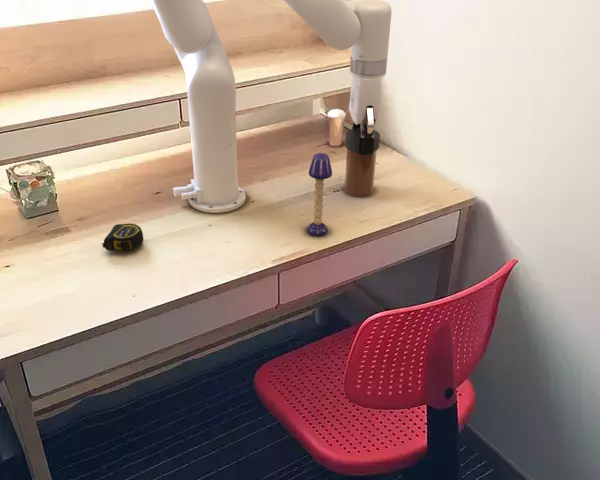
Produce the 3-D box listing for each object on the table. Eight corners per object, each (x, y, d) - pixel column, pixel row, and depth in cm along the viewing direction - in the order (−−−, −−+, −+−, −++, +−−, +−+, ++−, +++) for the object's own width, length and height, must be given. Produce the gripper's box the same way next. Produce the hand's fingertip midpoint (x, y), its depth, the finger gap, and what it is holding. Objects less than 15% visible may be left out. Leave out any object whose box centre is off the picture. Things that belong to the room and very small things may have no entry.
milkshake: (347, 147, 176) (349, 110, 170) (326, 147, 176) (328, 109, 170) (346, 140, 180) (348, 103, 174) (326, 140, 180) (328, 103, 174)
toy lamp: (305, 225, 143) (307, 151, 133) (327, 224, 144) (330, 150, 134) (308, 237, 139) (311, 161, 129) (331, 235, 140) (335, 160, 130)
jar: (351, 198, 153) (355, 144, 146) (339, 186, 158) (342, 133, 151) (377, 194, 155) (383, 140, 148) (365, 182, 160) (369, 129, 153)
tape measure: (117, 236, 138) (114, 220, 136) (149, 239, 137) (147, 223, 135) (103, 253, 132) (100, 237, 130) (137, 257, 132) (134, 240, 129)
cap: (382, 152, 148) (383, 140, 146) (347, 153, 147) (348, 141, 145) (376, 139, 154) (377, 127, 152) (342, 139, 153) (343, 127, 151)
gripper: (344, 53, 147) (340, 131, 157) (356, 79, 133) (351, 163, 143) (378, 53, 147) (372, 130, 158) (394, 79, 133) (386, 162, 144)
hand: (362, 145), depth 150 cm, fingers closed on cap, 7 cm apart
